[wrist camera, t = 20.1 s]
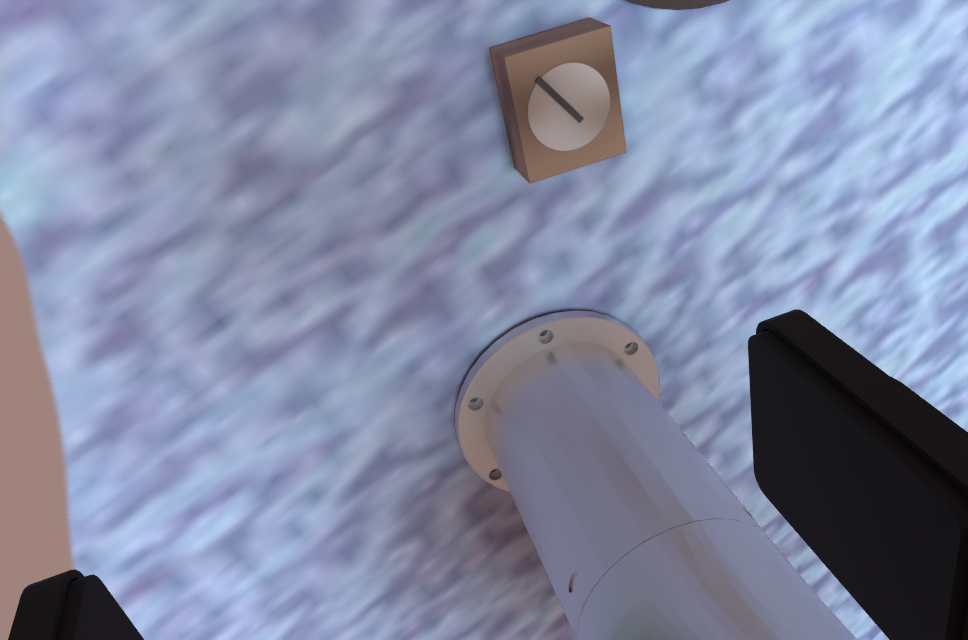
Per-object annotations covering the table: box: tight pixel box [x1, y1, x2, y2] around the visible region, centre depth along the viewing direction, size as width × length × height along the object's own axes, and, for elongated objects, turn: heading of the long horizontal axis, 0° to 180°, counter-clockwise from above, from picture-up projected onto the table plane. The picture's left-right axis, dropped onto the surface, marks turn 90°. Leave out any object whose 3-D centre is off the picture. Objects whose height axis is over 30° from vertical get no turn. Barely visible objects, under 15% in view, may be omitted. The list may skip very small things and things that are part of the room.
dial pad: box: [490, 18, 626, 183], centre depth 37 cm, size 6×5×3 cm
